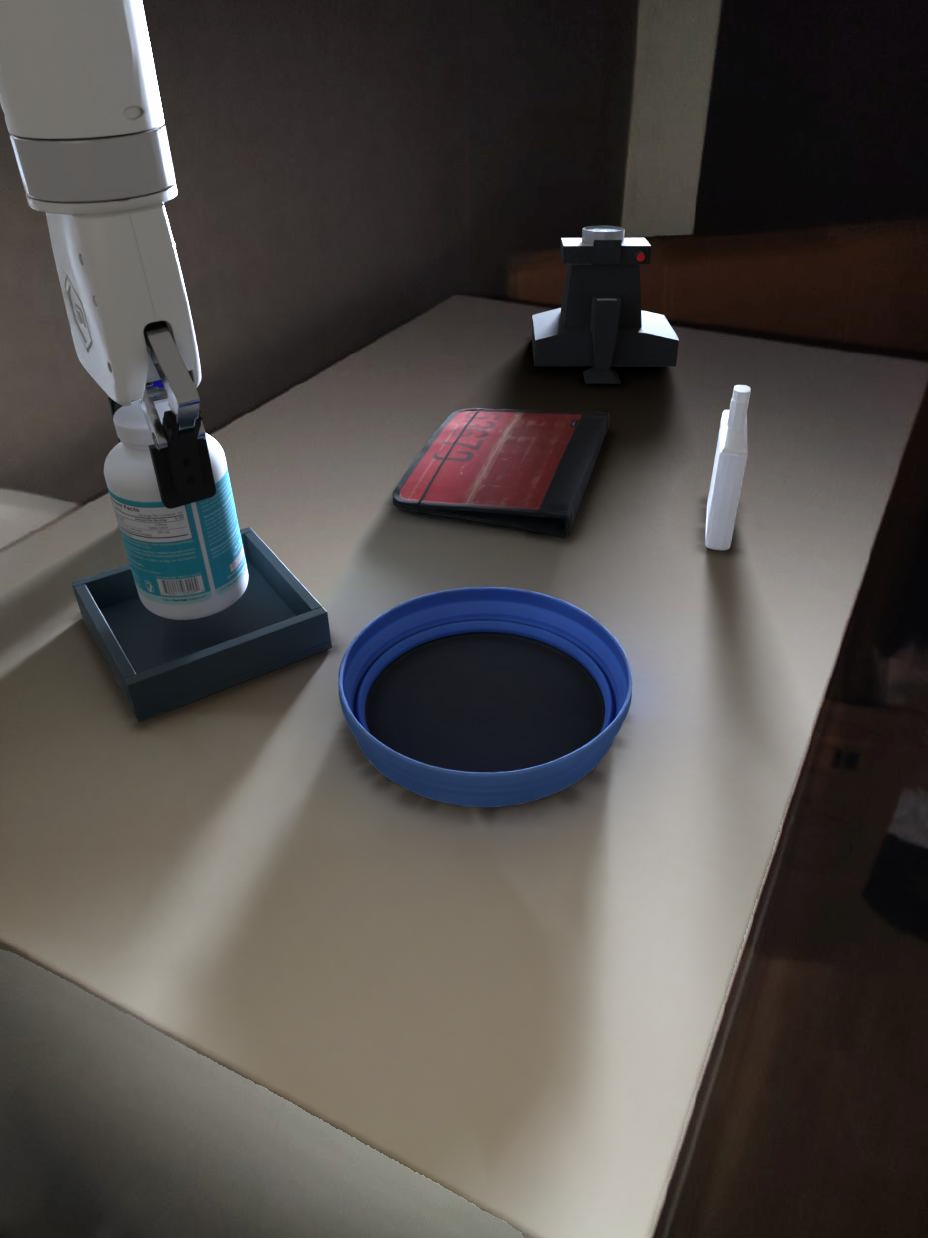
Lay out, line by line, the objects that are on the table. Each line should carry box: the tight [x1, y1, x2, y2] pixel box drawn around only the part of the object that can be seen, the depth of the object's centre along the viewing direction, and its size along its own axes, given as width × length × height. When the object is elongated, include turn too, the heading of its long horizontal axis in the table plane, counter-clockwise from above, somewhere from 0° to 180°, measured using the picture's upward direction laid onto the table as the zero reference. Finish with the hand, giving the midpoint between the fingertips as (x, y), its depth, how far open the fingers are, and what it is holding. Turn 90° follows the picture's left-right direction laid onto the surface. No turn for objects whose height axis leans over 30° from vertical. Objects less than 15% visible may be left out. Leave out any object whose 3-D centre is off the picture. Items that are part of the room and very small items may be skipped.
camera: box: [531, 225, 680, 385], centre depth 102 cm, size 16×14×15 cm
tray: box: [70, 526, 333, 723], centre depth 64 cm, size 14×14×3 cm
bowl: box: [337, 586, 633, 808], centre depth 57 cm, size 18×18×4 cm
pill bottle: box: [103, 400, 248, 620], centre depth 59 cm, size 8×7×14 cm
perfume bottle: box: [704, 384, 752, 551], centre depth 73 cm, size 8×2×12 cm, turn 166°
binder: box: [392, 407, 611, 538], centre depth 84 cm, size 16×2×21 cm
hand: (167, 473), depth 58 cm, fingers closed on pill bottle, 7 cm apart
